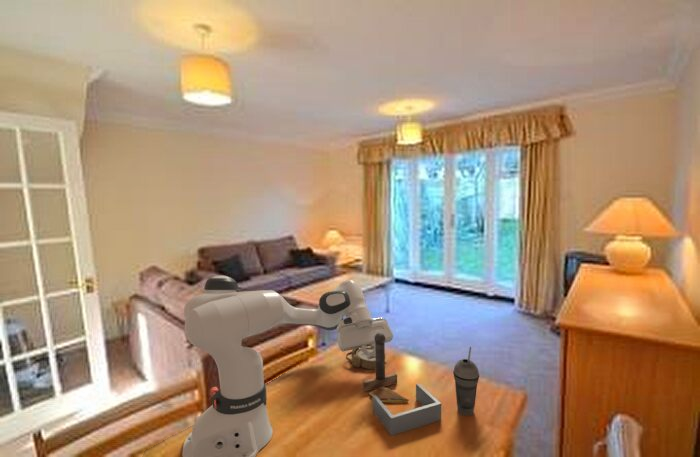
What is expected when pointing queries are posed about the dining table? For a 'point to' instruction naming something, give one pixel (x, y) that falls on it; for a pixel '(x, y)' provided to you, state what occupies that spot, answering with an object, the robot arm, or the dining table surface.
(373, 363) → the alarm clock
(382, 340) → the ball-topped joystick
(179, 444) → the dining table surface
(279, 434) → the dining table surface
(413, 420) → the box
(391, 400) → the shard
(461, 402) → the beverage cup
